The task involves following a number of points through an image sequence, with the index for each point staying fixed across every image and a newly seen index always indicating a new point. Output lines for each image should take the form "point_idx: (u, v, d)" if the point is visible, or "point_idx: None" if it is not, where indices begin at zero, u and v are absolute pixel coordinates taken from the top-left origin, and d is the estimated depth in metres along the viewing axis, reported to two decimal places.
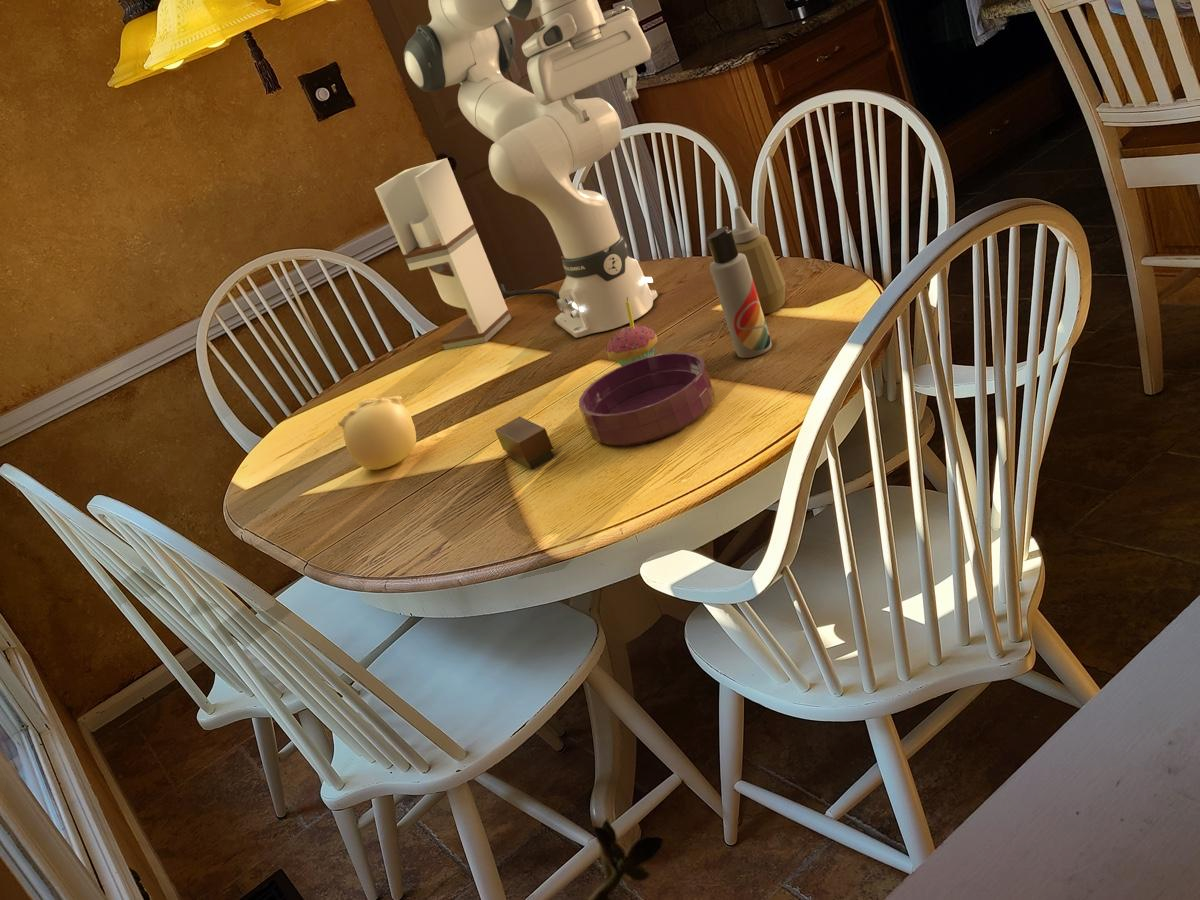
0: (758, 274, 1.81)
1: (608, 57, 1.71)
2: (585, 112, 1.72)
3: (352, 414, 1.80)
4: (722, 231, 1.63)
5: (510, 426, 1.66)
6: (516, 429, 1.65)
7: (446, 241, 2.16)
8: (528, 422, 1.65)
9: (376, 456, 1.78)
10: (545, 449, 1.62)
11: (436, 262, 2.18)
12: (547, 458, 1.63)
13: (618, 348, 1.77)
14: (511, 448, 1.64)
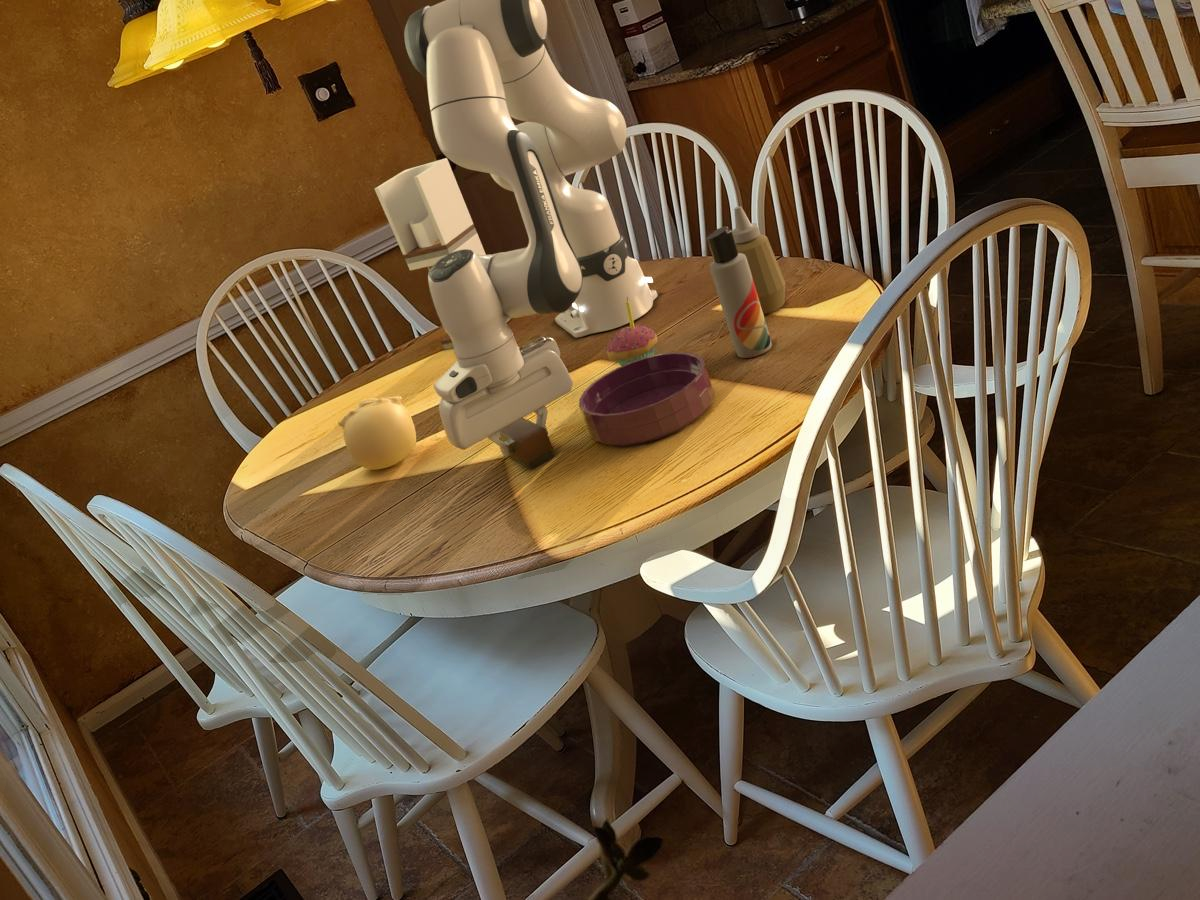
0: (758, 274, 1.81)
1: (526, 396, 1.61)
2: (511, 446, 1.63)
3: (352, 414, 1.80)
4: (722, 231, 1.63)
5: (510, 426, 1.66)
6: (516, 428, 1.65)
7: (446, 241, 2.16)
8: (528, 421, 1.65)
9: (376, 456, 1.78)
10: (545, 449, 1.62)
11: None
12: (547, 458, 1.63)
13: (618, 348, 1.77)
14: None
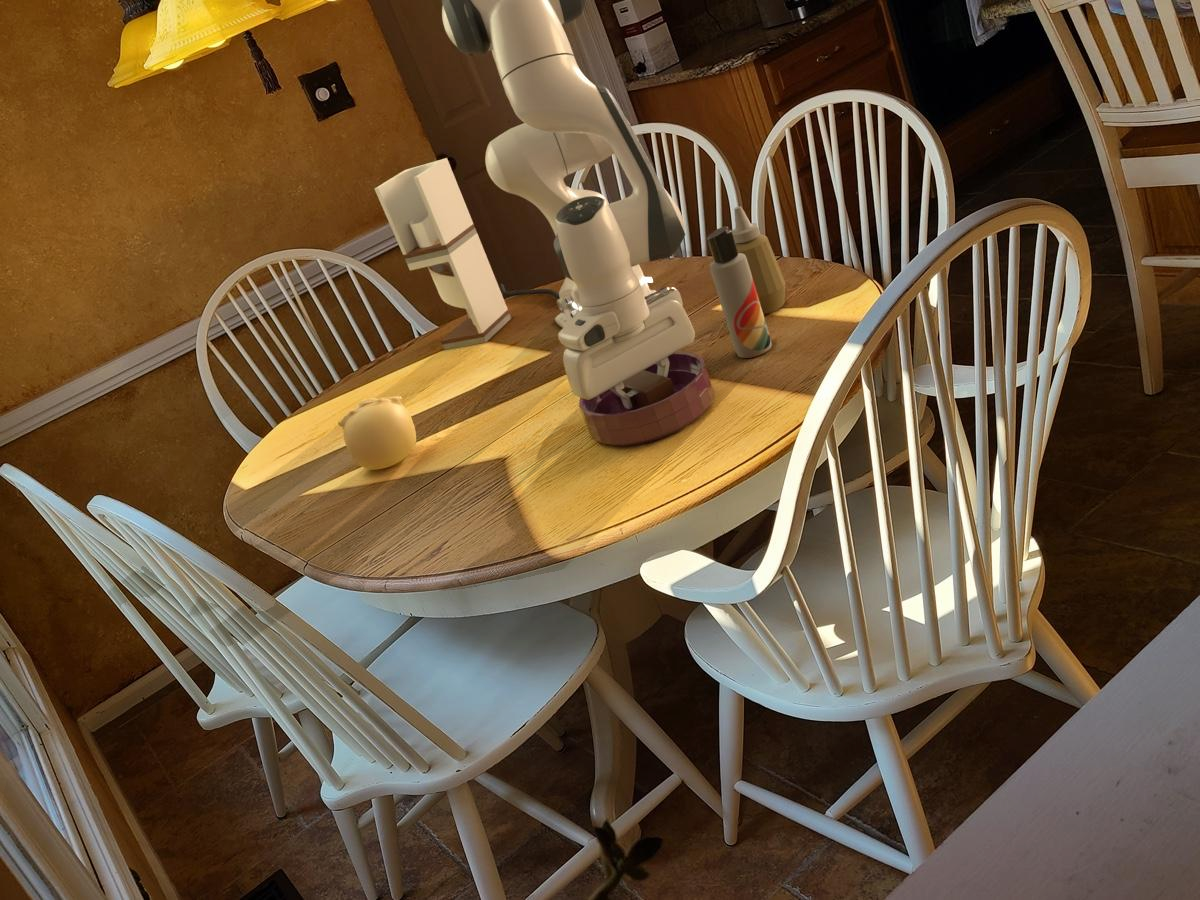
0: (758, 274, 1.81)
1: (650, 346, 1.59)
2: (633, 398, 1.61)
3: (352, 414, 1.80)
4: (722, 231, 1.63)
5: (630, 378, 1.64)
6: (638, 380, 1.62)
7: (446, 241, 2.16)
8: (649, 373, 1.63)
9: (376, 456, 1.78)
10: None
11: (436, 262, 2.18)
12: None
13: None
14: None
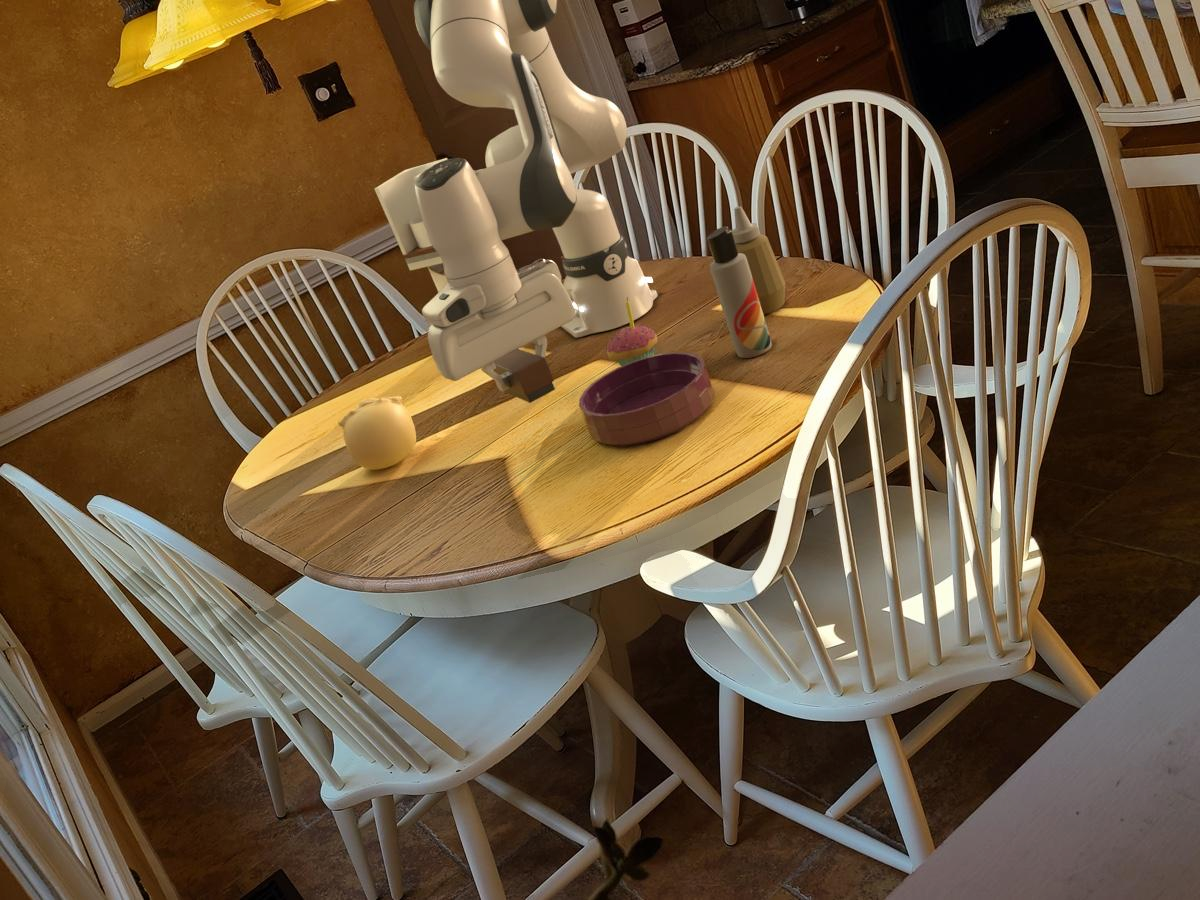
0: (758, 274, 1.81)
1: (523, 323, 1.47)
2: (507, 379, 1.48)
3: (352, 414, 1.80)
4: (722, 231, 1.63)
5: (506, 358, 1.51)
6: (513, 360, 1.50)
7: None
8: (526, 353, 1.50)
9: (376, 456, 1.78)
10: (545, 381, 1.47)
11: (436, 262, 2.18)
12: (547, 391, 1.48)
13: (618, 348, 1.77)
14: None
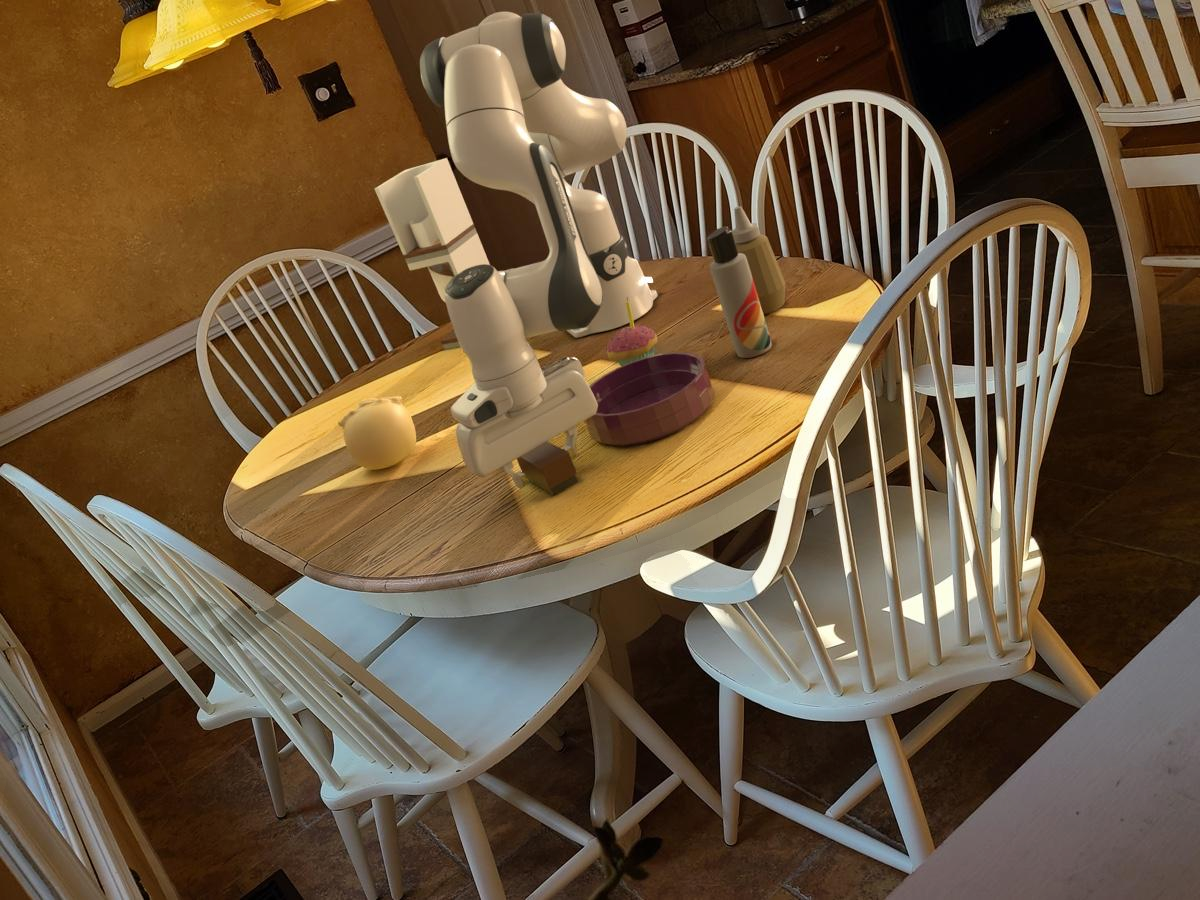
0: (758, 274, 1.81)
1: (548, 420, 1.52)
2: (524, 477, 1.53)
3: (352, 414, 1.80)
4: (722, 231, 1.63)
5: None
6: (537, 452, 1.54)
7: (446, 241, 2.16)
8: (549, 444, 1.55)
9: (376, 456, 1.78)
10: (568, 474, 1.52)
11: (436, 262, 2.18)
12: (571, 484, 1.52)
13: (618, 348, 1.77)
14: (532, 473, 1.54)
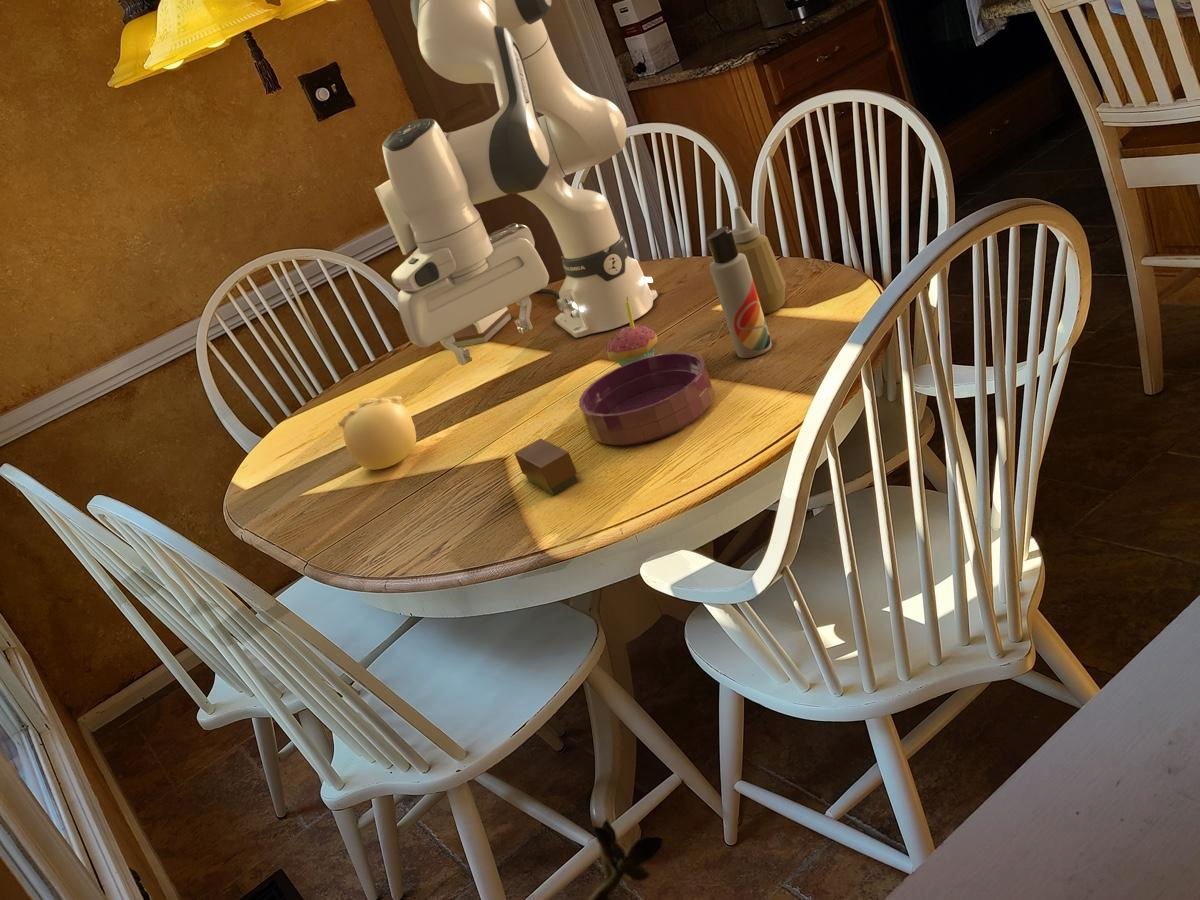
0: (758, 274, 1.81)
1: (495, 289, 1.44)
2: (467, 353, 1.45)
3: (352, 414, 1.80)
4: (722, 231, 1.63)
5: (530, 449, 1.56)
6: (537, 452, 1.54)
7: None
8: (549, 444, 1.55)
9: (376, 456, 1.78)
10: (568, 474, 1.52)
11: None
12: (571, 484, 1.52)
13: (618, 348, 1.77)
14: (532, 473, 1.54)
